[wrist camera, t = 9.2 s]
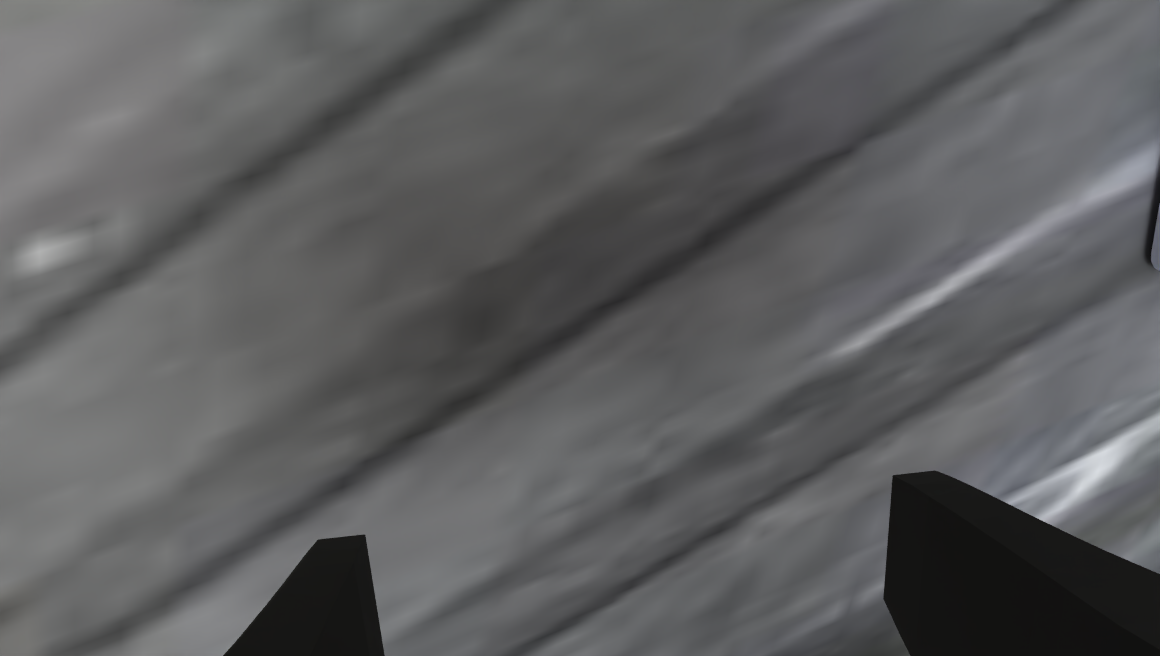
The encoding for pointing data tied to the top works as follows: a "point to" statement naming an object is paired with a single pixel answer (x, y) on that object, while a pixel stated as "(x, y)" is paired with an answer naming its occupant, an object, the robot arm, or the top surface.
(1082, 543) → the robot arm
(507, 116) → the top surface
